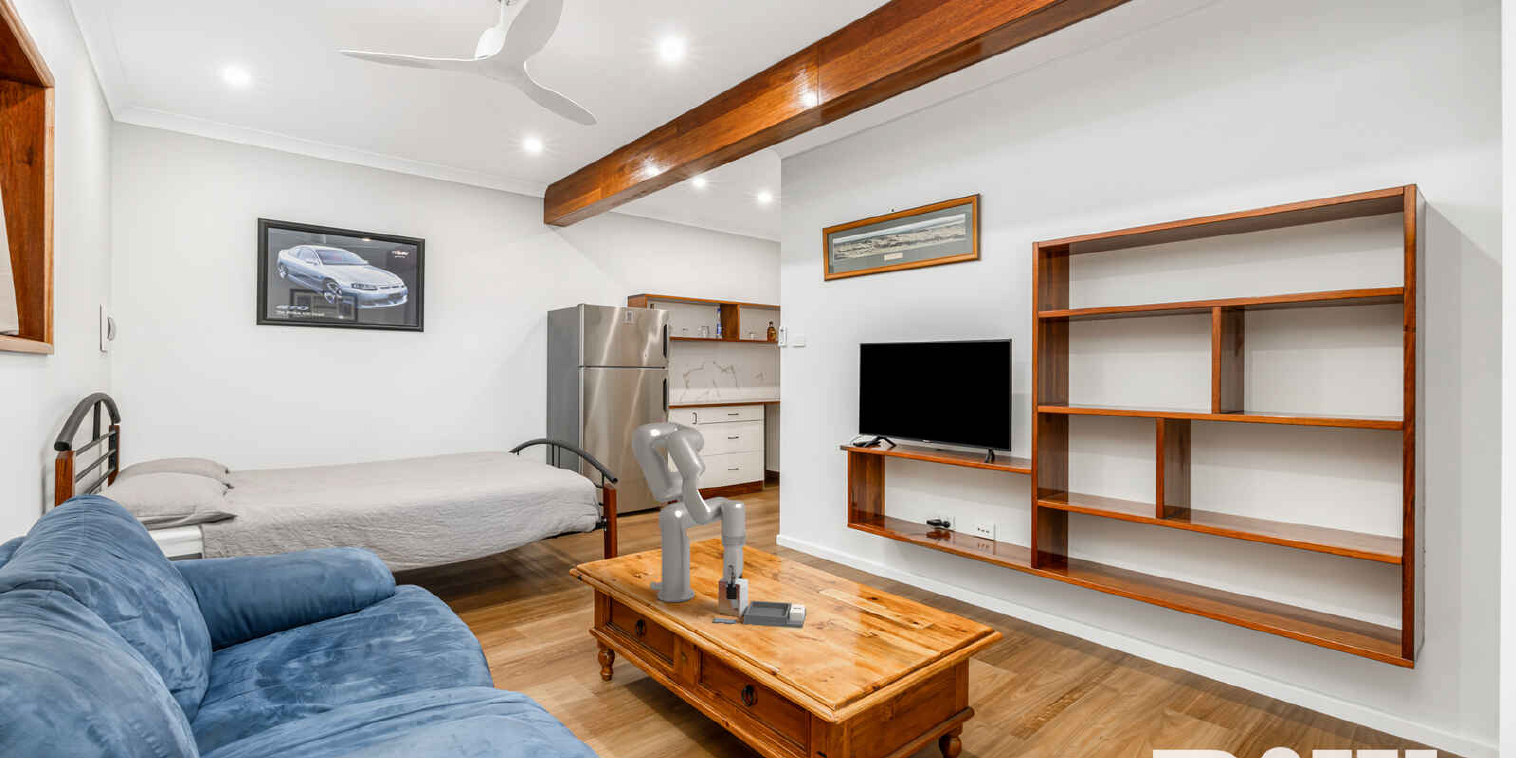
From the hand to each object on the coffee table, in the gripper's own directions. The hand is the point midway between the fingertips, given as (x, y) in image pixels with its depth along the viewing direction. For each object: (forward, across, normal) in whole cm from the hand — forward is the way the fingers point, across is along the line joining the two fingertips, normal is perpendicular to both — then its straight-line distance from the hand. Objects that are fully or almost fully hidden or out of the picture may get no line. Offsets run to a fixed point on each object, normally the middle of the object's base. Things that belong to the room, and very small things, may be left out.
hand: (734, 593), depth 215 cm
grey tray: (+6, +2, +13) cm, 15 cm away
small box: (+6, 0, -1) cm, 6 cm away
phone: (+7, +8, -2) cm, 10 cm away
